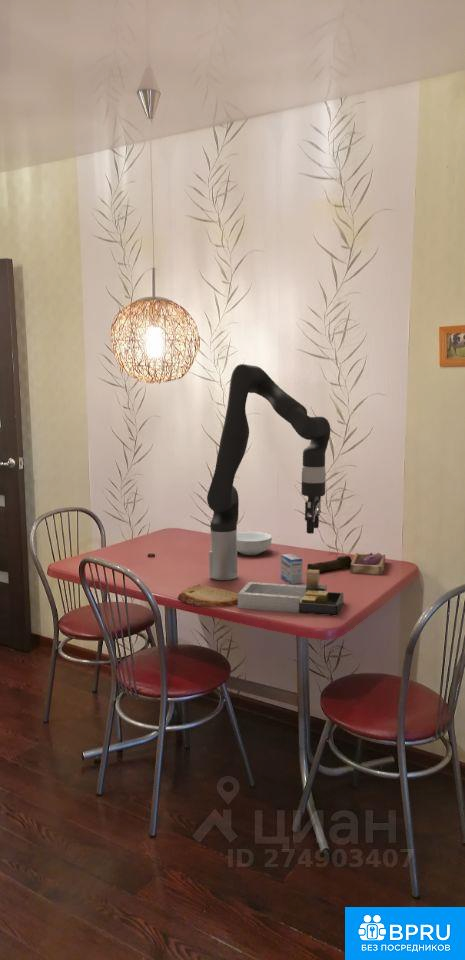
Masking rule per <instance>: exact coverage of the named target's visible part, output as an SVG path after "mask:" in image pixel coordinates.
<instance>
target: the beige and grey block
mask: <svg viewBox="0 0 465 960" xmlns="http://www.w3.org/2000/svg"><path fill="white" fill-rule="evenodd" d="M320 573H321V572H320V570H312V569H308V571H306V583H300V585H301V586H307V590H310V591H328V588H327V587H328V586H327V584H321V583H320V582H321V580H320V579H321V578H320V575H321V574H320Z"/></svg>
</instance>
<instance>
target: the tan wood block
mask: <svg viewBox="0 0 465 960" xmlns="http://www.w3.org/2000/svg"><path fill="white" fill-rule="evenodd" d="M302 603H314V604H316V596H304V597H303V598H302Z"/></svg>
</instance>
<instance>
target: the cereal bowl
mask: <svg viewBox="0 0 465 960" xmlns="http://www.w3.org/2000/svg"><path fill="white" fill-rule="evenodd" d="M272 539H273V538H272V535H271V534H269V533H265V532H260V531H240V532H238V531H237V553H240V554H241V555H245V556H256V555H260V554H261V553H263V552H266V551H267V550H268V549H269V548H270V546H271V544H272Z"/></svg>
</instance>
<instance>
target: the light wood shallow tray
mask: <svg viewBox="0 0 465 960" xmlns="http://www.w3.org/2000/svg"><path fill="white" fill-rule="evenodd" d="M369 554H370V553H355V555H354V556H353V558H352V559H351V560H352V562H351V565H350V567H349V568H350V569H349V570H350V574H363V575H365V574H366V575H379V576H380V575H383V571H384V569H385V565H386V554H381V555H382V556H378V557H383V558H381V561H380V562H379V563H378V565H379V566H376V565H362V564H360V565H359V561H358V560H361V559H365V558H366V557H367V556H368V555H369ZM374 554H375V553H372V555H374ZM374 558H377V557H372V558H371V559H374ZM356 563H358V564H356Z"/></svg>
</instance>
